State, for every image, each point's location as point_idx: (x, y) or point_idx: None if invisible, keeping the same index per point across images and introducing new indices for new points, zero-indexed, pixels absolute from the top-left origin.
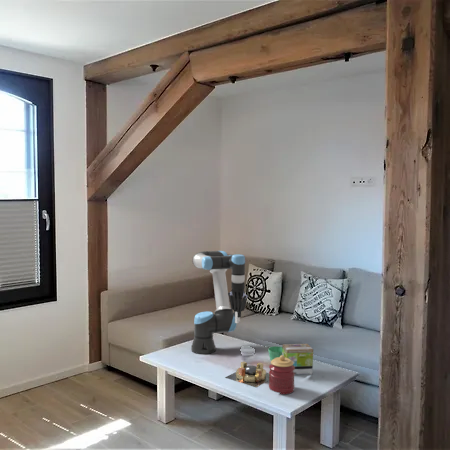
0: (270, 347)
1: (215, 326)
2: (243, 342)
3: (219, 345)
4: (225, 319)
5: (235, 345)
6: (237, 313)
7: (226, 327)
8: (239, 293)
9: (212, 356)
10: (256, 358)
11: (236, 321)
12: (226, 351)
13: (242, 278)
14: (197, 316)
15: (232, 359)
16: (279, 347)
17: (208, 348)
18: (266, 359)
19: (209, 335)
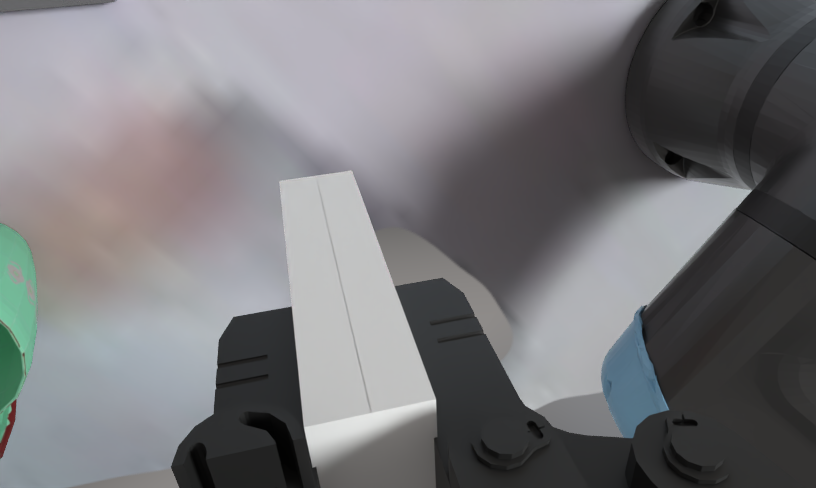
0: (21, 349)
1: (796, 208)
2: (548, 386)
3: (659, 236)
4: (761, 372)
5: (562, 316)
6: (300, 385)
7: (676, 308)
8: None
9: (580, 7)
10: (259, 253)
11: (305, 197)
12: (547, 187)
13: None
14: None
15: (392, 86)
16: None
17: (676, 45)
18: (184, 295)
19: (771, 111)
